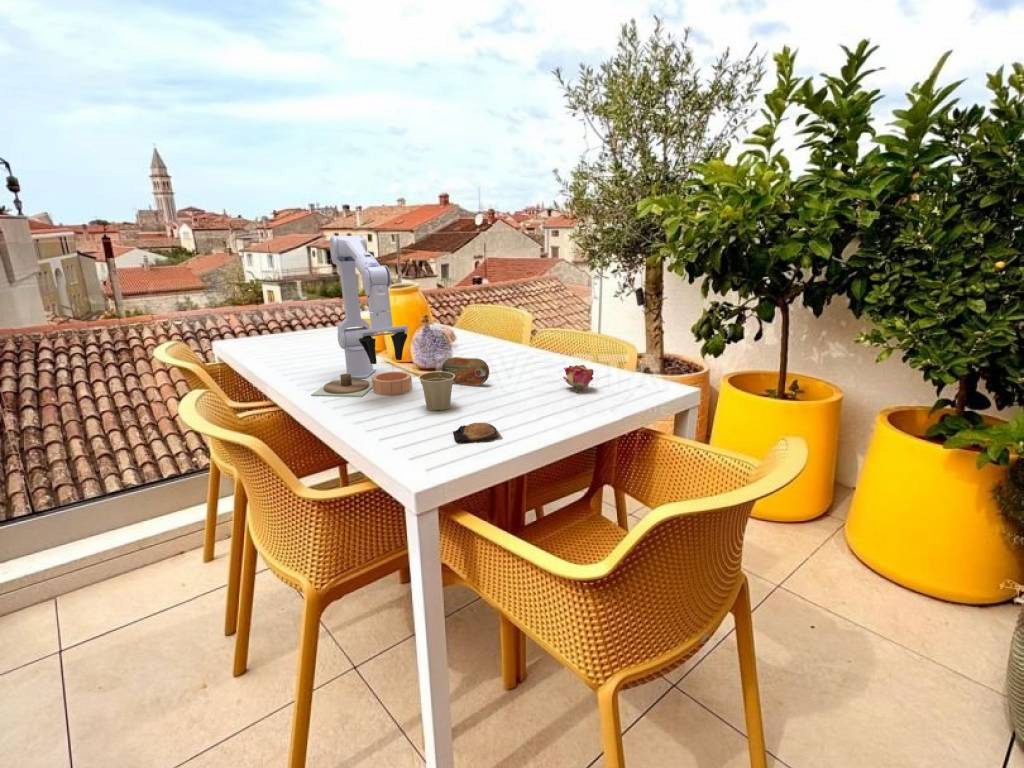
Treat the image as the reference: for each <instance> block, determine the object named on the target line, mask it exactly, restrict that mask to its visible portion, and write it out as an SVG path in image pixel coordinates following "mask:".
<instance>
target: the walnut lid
mask: <svg viewBox="0 0 1024 768" xmlns="http://www.w3.org/2000/svg"><path fill="white" fill-rule="evenodd" d="M339 377H340V379H336V380H337V381H332V380H331V381H332V382H331V381H329V382H328V383H325V384H324V385H323V386H324V391H325V392H327V393H332V394H348V393H355V392H359V391H362V390H365V389H367V388H368V387H369V382H368V381H369V380H367V381H366V380H365V379H363V378H351V374H346V373H343V374H340V376H339Z"/></svg>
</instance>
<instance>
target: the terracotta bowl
mask: <svg viewBox="0 0 1024 768" xmlns="http://www.w3.org/2000/svg"><path fill="white" fill-rule="evenodd" d="M371 381H372V384H373V388H372V391H373V392H374V394H377V395H380V396H395V395H402V394H406V393H408V392H409V393H410V391H411V390H412V389H413V382H412V374H410V373H409V372H406V371H385V372H379V373H377V374H374V375H373V376H372V377H371Z"/></svg>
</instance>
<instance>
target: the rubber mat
mask: <svg viewBox="0 0 1024 768" xmlns="http://www.w3.org/2000/svg"><path fill="white" fill-rule="evenodd" d="M337 380H338V379H332V380H331V381H330V382H332V381H337ZM366 381H368V382H369V387H368V388H367V389H365V390H362V391H359V392H355V393H348V394H332V393H327V392H325V391H324V385H323V386H322V387H320V388H319V389H316V391H314V392H312V393H311V394H310V395H311V397H345V398H346V397H351V398H352V397H354V398H355V397H356V398H359V397H360V398H363V397H364V396H365V395H366V394H367V393H368V392H370V391H371V390H373V384H372V380H366Z"/></svg>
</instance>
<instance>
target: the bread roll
mask: <svg viewBox="0 0 1024 768" xmlns="http://www.w3.org/2000/svg"><path fill="white" fill-rule="evenodd" d="M452 436H453V438H454V439H453V440H454V441H455V443H456V444H457V445H466V444H467V445H468V444H477V443H487V442H494V441H499V440H500V441H501V440H503V436H502V435H501V433H500V432H499V430H498V429H497V427H495V426H494V425H493V424H491V423H488V422H473V423H469V424H465V425H464V424H463V425H460V426H459V427H458V429H456V430H454V431H453V432H452Z"/></svg>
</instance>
